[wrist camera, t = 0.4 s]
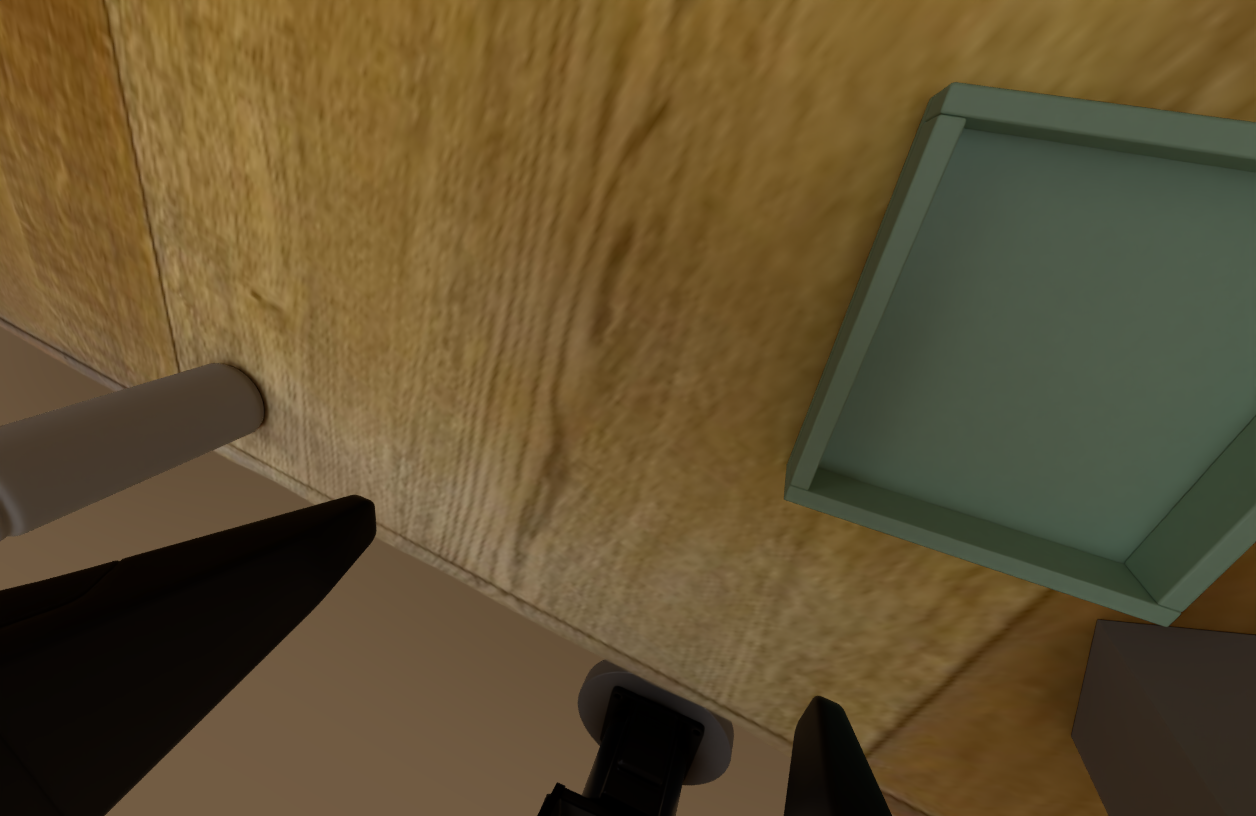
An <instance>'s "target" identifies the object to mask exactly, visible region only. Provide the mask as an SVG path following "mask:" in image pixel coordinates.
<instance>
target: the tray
mask: <svg viewBox="0 0 1256 816" xmlns="http://www.w3.org/2000/svg"><path fill="white" fill-rule="evenodd" d="M786 471H787V472H786V480H785V491H784V499H785V500H787V501H790V502H793V503H796V504H799V505H802V506H805V507H808V508H811V509H814V510H817V511H820V512H823V513H826V514H829V515H832V516H835V517H838V518H841V519H844V520H847V521H850V522H853V523H856V524H859V525H862V526H865V527H868V528H871V529H874V530H877V531H880V532H883V533H886V534H889V535H892V536H895V537H898V538H901V539H904V540H907V541H910V542H913V543H916V544H919V545H922V546H925V547H928V548H931V549H934V550H937V551H940V552H943V553H946V554H949V555H952V556H955V557H958V558H961V559H964V560H967V561H970V562H973V563H976V564H979V565H982V566H985V567H988V568H991V569H994V570H997V571H1000V572H1003V573H1006V574H1009V575H1012V576H1015V577H1018V578H1021V579H1024V580H1027V581H1030V582H1033V583H1036V584H1039V585H1042V586H1045V587H1048V588H1051V589H1054V590H1057V591H1060V592H1063V593H1066V594H1069V595H1072V596H1075V597H1078V598H1081V599H1084V600H1087V601H1090V602H1093V603H1096V604H1099V605H1102V606H1105V607H1108V608H1111V609H1114V610H1117V611H1120V612H1123V613H1126V614H1129V615H1132V616H1135V617H1138V618H1141V619H1144V620H1146V621H1149V622H1152V623H1155V624H1158V625H1161V626H1164V627H1168V626H1169V625H1170V624H1171V623H1172V622H1173V621H1174V620H1176V619H1177V618H1178V617H1179V616H1180V615H1181V612H1182V611H1184V610H1185V609H1186V608H1187V607H1188V606H1189V605H1190V604H1191V603H1192V602H1193V601H1194V600H1195V599H1197V598H1198V597H1199V596H1200V595H1201V594H1202V593H1203V592H1204V591H1205V590H1206V589H1207V588H1208V587H1209V586H1210V585H1211V584H1212V583H1213V582H1214V581H1215V580H1216V579H1217V578H1218V577H1219V576H1221V575H1222V574H1223V573H1224V572H1225V571H1226V570H1227V569H1228V568H1229V567H1230V566H1231V565H1232V564H1233V563H1234V562H1235V561H1236V560H1237V559H1238V558H1239V557H1240V556H1241V555H1242V554H1243V553H1244V552H1246V551H1247V550H1248V549H1249V548H1250V547H1251V546H1252V545H1253V544H1254V543H1255V542H1256V122H1249V121H1242V120H1234V119H1227V118H1219V117H1212V116H1204V115H1197V114H1189V113H1182V112H1174V111H1167V110H1160V109H1152V108H1145V107H1137V106H1130V105H1122V104H1115V103H1107V102H1100V101H1092V100H1085V99H1077V98H1070V97H1063V96H1055V95H1048V94H1040V93H1033V92H1025V91H1018V90H1010V89H1003V88H995V87H988V86H981V85H973V84H966V83H958V82H954V83H951V84H950V85H948V86H947V87H946V88H944V89H943V90H942V91H940V92H939V93H937V94H936V95H934V96H933V97H932V98H931V99H930V100H929V102H928V105H927V108H926V110H925V113H924V115H923V118H922V120H921V123H920V125H919V128H918V131H917V133H916V136H915V138H914V141H913V143H912V146H911V149H910V151H909V154H908V156H907V159H906V161H905V164H904V166H903V169H902V172H901V174H900V177H899V179H898V182H897V184H896V187H895V189H894V192H893V195H892V197H891V200H890V202H889V205H888V207H887V210H886V213H885V215H884V218H883V220H882V223H881V225H880V228H879V230H878V233H877V236H876V238H875V241H874V243H873V246H872V248H871V251H870V253H869V256H868V259H867V261H866V264H865V266H864V269H863V271H862V274H861V277H860V279H859V282H858V284H857V287H856V289H855V292H854V294H853V297H852V300H851V302H850V305H849V307H848V310H847V312H846V315H845V318H844V320H843V323H842V325H841V328H840V330H839V333H838V335H837V338H836V341H835V343H834V346H833V348H832V351H831V353H830V356H829V358H828V361H827V364H826V366H825V369H824V371H823V374H822V376H821V379H820V382H819V384H818V387H817V389H816V392H815V394H814V397H813V399H812V402H811V405H810V407H809V410H808V412H807V415H806V417H805V420H804V423H803V425H802V428H801V430H800V433H799V435H798V438H797V440H796V443H795V446H794V448H793V451H792V453H791V456H790V458H789V461H788V463H787V469H786Z"/></svg>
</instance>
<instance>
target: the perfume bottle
mask: <svg viewBox="0 0 1256 816" xmlns="http://www.w3.org/2000/svg"><path fill="white" fill-rule="evenodd" d="M1071 737H1072V739H1073V741H1074V743H1075V745H1076V747H1077V749H1078V752H1079V754H1080V756H1081V758H1082V760H1083V762H1084V764H1085V766H1086V769H1087V771H1088V773H1089V775H1090V777H1091V779H1092V781H1093V783H1094V786H1095V788H1096V790H1097V792H1098V794H1099V796H1100V798H1101V800H1102V803H1103V805H1104V807H1105V809H1106V811H1107V813H1108V815H1109V816H1256V635H1247V634H1237V633H1227V632H1217V631H1207V630H1197V629H1187V628H1177V627H1164V626H1157V625H1147V624H1137V623H1126V622H1116V621H1106V620H1097V624H1096V629H1095V633H1094V637H1093V642H1092V646H1091V651H1090V655H1089V660H1088V664H1087V668H1086V673H1085V677H1084V682H1083V686H1082V691H1081V695H1080V699H1079V704H1078V708H1077V713H1076V717H1075V722H1074V726H1073V730H1072V735H1071Z"/></svg>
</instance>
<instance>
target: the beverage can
mask: <svg viewBox="0 0 1256 816" xmlns="http://www.w3.org/2000/svg"><path fill="white" fill-rule="evenodd" d="M263 417H264V406H263V401H262V398H261V395H260V393H259V391H258V389H257V388H256V386H255V385H254V384H253V382H252V381H251V380H250V379H249V378H248V377H247V376H246V375H245V374H244V373H242V372H241V371H239V370H238V369H236V368H233V367H231V366H228V365H224V364H220V363H211V364H208V365H204V366H201V367H197V368H194V369H191V370H187V371H184V372H181V373H177V374H174V375H170V376H167V377H164V378H160V379H157V380H154V381H150V382H147V383H144V384H140V385H137V386H133V387H130V388H127V389H123V390H120V391H117V392H113V393H110V394H107V395H104V396H100V397H96V398H93V399H90V400H87V401H83V402H80V403H76V404H73V405H70V406H66V407H63V408H59V409H56V410H53V411H49V412H46V413H43V414H39V415H36V416H33V417H29V418H26V419H23V420H19V421H16V422H12V423H9V424H6V425H2V426H0V541H1V540H3V539H4V538H6V537H7V536H18V535H22V534H25V533H27V532H29V531H32V530H34V529H36V528H38V527H41V526H43V525H45V524H48V523H50V522H52V521H54V520H57V519H59V518H61V517H63V516H66V515H68V514H70V513H72V512H75V511H77V510H79V509H81V508H84V507H86V506H88V505H90V504H93V503H95V502H97V501H99V500H102V499H104V498H106V497H108V496H111V495H113V494H115V493H117V492H120V491H122V490H124V489H126V488H129V487H131V486H133V485H135V484H138V483H140V482H142V481H144V480H147V479H149V478H151V477H153V476H156V475H158V474H160V473H163V472H165V471H167V470H169V469H171V468H174V467H176V466H178V465H181V464H183V463H185V462H187V461H190V460H192V459H194V458H196V457H199V456H201V455H203V454H205V453H208V452H210V451H212V450H214V449H217V448H219V447H221V446H223V445H226V444H228V443H230V442H232V441H235V440H237V439H239V438H241V437H244V436H246V435H248V434H250V433H253V432H255V431H256V430H257V429H258V427H259V426H260V424H261V422H262V421H263Z"/></svg>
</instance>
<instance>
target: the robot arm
mask: <svg viewBox="0 0 1256 816" xmlns="http://www.w3.org/2000/svg"><path fill="white" fill-rule="evenodd" d="M375 535H376V515H375V505H374V503H373V502H372V501H371V500H368V499H366V498H364V497H361V496H359V495H350V496H346V497H343V498H339V499H336V500H332V501H328V502H325V503H321V504H318V505H314V506H311V507H307V508H303V509H300V510H296V511H293V512H289V513H285V514H282V515H279V516H275V517H271V518H267V519H264V520H260V521H257V522H253V523H250V524H246V525H242V526H239V527H235V528H232V529H228V530H224V531H221V532H217V533H214V534H210V535H206V536H203V537H199V538H196V539H192V540H189V541H185V542H182V543H178V544H174V545H170V546H167V547H163V548H160V549H156V550H152V551H149V552H145V553H142V554H138V555H134V556H131V557H127V558H124V559H122V560H121V561H112V562H109V563H106V564H102V565H98V566H95V567H91V568H88V569H84V570H80V571H76V572H72V573H69V574H65V575H61V576H57V577H53V578H50V579H46V580H42V581H39V582H34V583H30V584H25V585H21V586H17V587H13V588H9V589H5V590H1V591H0V816H105V815H106V814H107V813H108V812H109V811H110V810H111V809H112V808H113V807H114V806H115V805H116V804H117V803H118V802H119V801H120V800H121V799H122V798H123V797H124V796H125V795H126V794H127V793H128V792H129V791H130V790H131V789H132V788H133V787H134V786H135V785H136V784H137V783H138V782H139V781H140V780H141V779H142V778H143V777H144V776H145V775H146V774H147V773H148V772H149V771H150V770H151V769H152V768H153V767H154V766H155V765H156V764H157V763H158V762H159V761H160V760H161V759H162V758H164V756H165V755H167V754H168V753H169V752H170V751H171V749H173V747H175V746H176V745H177V744H178V743H179V742H180V741H181V740H182V739H183V738H184V737H185V736H186V735H187V734H188V733H189V732H190V731H191V730H192V729H193V728H194V727H195V726H196V725H197V724H198V723H199V722H200V721H201V720H202V719H203V718H204V717H205V716H206V715H207V714H208V713H209V712H210V711H211V710H212V709H213V708H214V707H215V706H216V705H217V704H218V703H219V702H220V701H221V700H222V699H223V698H224V697H225V696H226V695H227V694H228V693H229V692H230V691H231V690H232V689H234V688H235V687H236V686H237V684H238V683H239V682H240V681H242V680H243V679H244V678H245V677H246V676H247V675H248V674H249V673H250V672H251V671H252V670H253V669H254V668H255V666H257V665H258V664H259V663H260V662H261V661H262V660H263V659H264V658H265V657H266V656H267V655H268V654H269V653H270V652H271V651H272V650H273V649H274V648H275V647H276V646H277V645H278V644H279V643H280V642H281V641H282V640H283V639H284V638H285V637H286V636H287V635H288V634H289V633H290V632H291V631H292V630H293V629H294V628H295V627H296V626H297V625H298V624H299V623H300V622H301V621H302V620H303V619H305V617H307V616H308V615H309V614H310V613H311V611H312V610H313V609H314V608H315V607H316V606H317V605H318V604H319V603H320V602H321V601H322V600H323V599H324V598H325V597H326V595H327V594H328V593H329V592H330V591H331V590H332V588H333V587H334V586H335V585H336V584H337V583H338V581H339V580H340V579H341V578H342V576H343V575H344V574H345V573H346V572H347V571H348V569H349V568H350V567H351V566H352V565H353V564H354V563H355V561H356V560H357V559H358V558H359V556H360V555H361V554H362V553H363V552H364V551H365V549H366V548H367V547H368V546H369V545H370V544H371V542H372V541H373V539H374V537H375ZM704 732H705V727H704V725H703V724H702V723H700V722H698V721H696V720H693V719H691V718H689V717H687V716H685V715H682V714H680V713H678V712H676V711H673V710H671V709H669V708H667V707H665V706H662V705H660V704H658V703H656V702H654V701H651V700H649V699H647V698H645V697H643V696H640V695H638V694H636V693H634V692H631V691H629V690H627V689H625V688H623V687H620V686H614V687H613V689H612V692H611V695H610V699H609V703H608V707H607V711H606V715H605V719H604V723H603V727H602V731H601V735H600V741H601V742H602V743H601V745H600V748H599V751H598V753H597V756H596V759H595V761H594V764H593V767H592V769H591V772H590V775H589V777H588V780H587V783H586V785H585V788H584V791H583V794H582V795H580V794H578V793H576V792H573V791H571V790H569V789H567V788H565V785H562V784H560V783H556V785H555V787H554V789H553V791H552V793H551V794H547V795H546V798H545V800H544V802H543V805H542V807H541V809H540V812H539V813H538V815H537V816H676V811H677V807H678V802H679V797H680V793H681V788H682V783H683V781H684V780H685V778H686V776H687V774H688V771H689V769H690V767H691V764H692V762H693V760H694V757H695V755H696V753H697V750H698V748H699V746H700V743H701V741H702V739H703V736H704ZM784 816H892V814H891V812H890V810H889V808H888V806H887V803H886V801H885V799H884V797H883V795H882V792H881V790H880V788H879V786H878V784H877V781H876V779H875V777H874V775H873V773H872V770H871V768H870V766H869V764H868V762H867V759H866V757H865V755H864V753H863V751H862V748H861V746H860V744H859V742H858V740H857V737H856V735H855V733H854V731H853V729H852V726H851V724H850V722H849V720H848V718H847V715H846V713H845V711H844V709H843V708H842V707H841V706H840V705H839V704H837V703H835V702H833V701H831V700H828V699H826V698H824V697H821V696H815V697H814V698H813V699H812V701H811V702H810V704H809V705H808V707H807V708H806V710H805V712H804V713H803V715H802V716H801V718H800V720H799V721H798V724H797V726H796V730H795V734H794V741H793V749H792V757H791V764H790V772H789V780H788V788H787V795H786V803H785V810H784Z"/></svg>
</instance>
